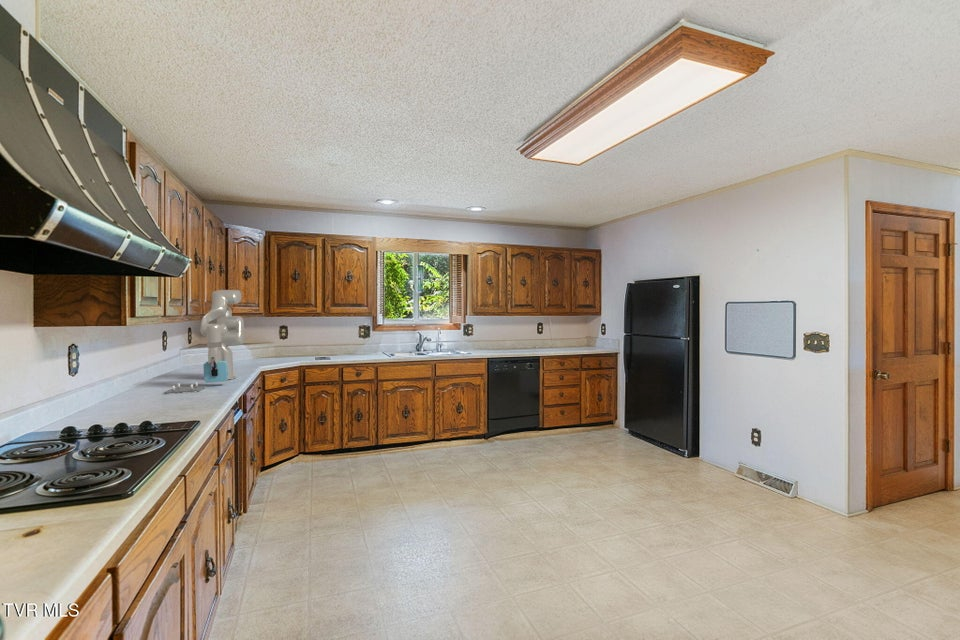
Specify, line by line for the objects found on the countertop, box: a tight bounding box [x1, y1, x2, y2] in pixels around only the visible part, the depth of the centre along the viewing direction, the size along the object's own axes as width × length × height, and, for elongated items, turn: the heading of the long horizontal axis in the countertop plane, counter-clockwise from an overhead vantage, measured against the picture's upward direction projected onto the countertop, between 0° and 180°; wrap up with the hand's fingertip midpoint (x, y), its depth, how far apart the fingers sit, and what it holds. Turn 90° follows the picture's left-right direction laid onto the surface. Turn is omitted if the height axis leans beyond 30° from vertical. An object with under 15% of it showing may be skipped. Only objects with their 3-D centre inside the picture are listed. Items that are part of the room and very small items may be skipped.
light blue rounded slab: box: [202, 361, 228, 383], centre depth 275 cm, size 12×4×12 cm, turn 111°
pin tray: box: [163, 381, 207, 394], centre depth 261 cm, size 14×17×4 cm
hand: (216, 374), depth 276 cm, fingers closed on light blue rounded slab, 4 cm apart
